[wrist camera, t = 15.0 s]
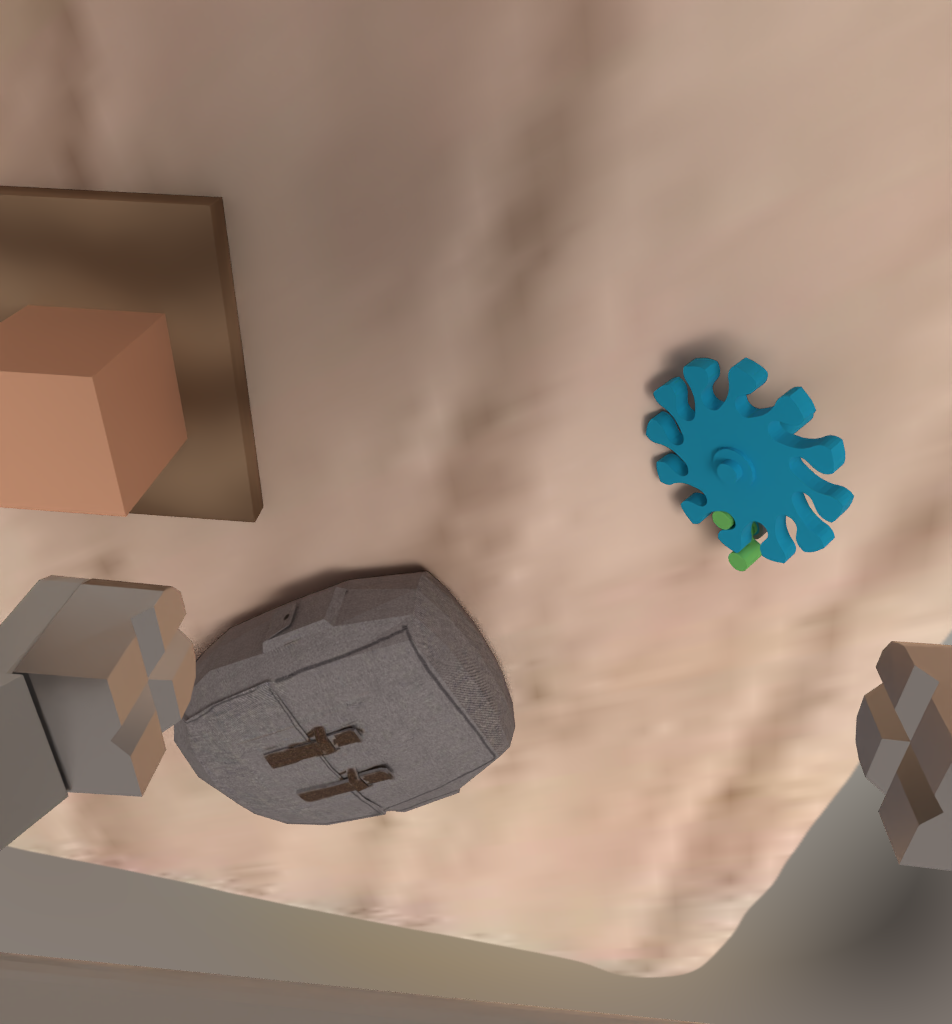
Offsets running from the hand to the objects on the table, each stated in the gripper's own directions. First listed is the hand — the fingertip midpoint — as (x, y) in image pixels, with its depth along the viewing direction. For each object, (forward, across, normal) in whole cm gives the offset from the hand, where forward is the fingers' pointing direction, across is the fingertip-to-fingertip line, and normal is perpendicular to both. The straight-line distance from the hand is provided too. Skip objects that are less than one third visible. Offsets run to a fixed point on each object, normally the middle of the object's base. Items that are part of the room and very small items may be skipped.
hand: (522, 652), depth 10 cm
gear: (+29, -10, +12) cm, 33 cm away
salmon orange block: (+28, +20, +10) cm, 35 cm away
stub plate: (+29, +20, +10) cm, 37 cm away
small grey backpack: (+30, +10, +30) cm, 43 cm away
